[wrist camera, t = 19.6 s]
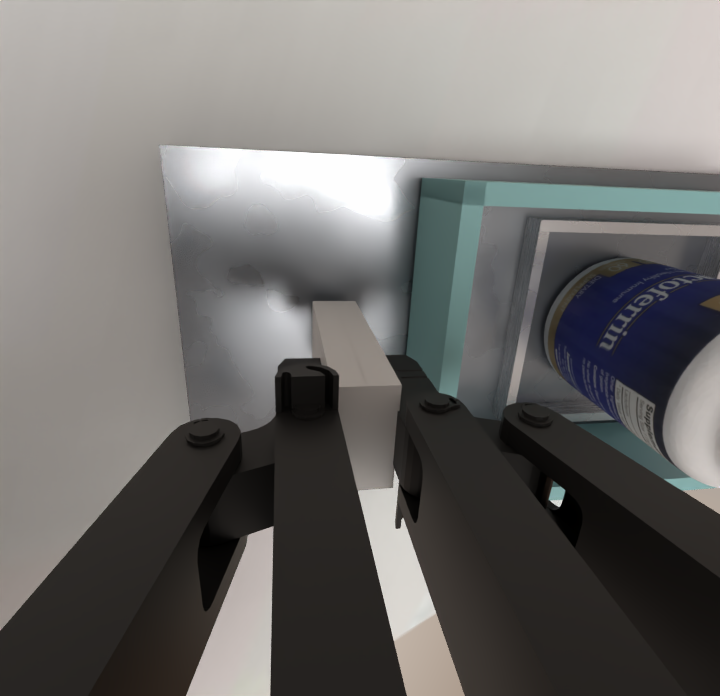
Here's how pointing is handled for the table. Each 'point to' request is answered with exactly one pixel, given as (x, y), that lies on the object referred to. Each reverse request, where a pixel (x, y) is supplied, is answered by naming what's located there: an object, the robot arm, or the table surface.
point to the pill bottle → (646, 355)
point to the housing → (457, 264)
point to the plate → (388, 266)
